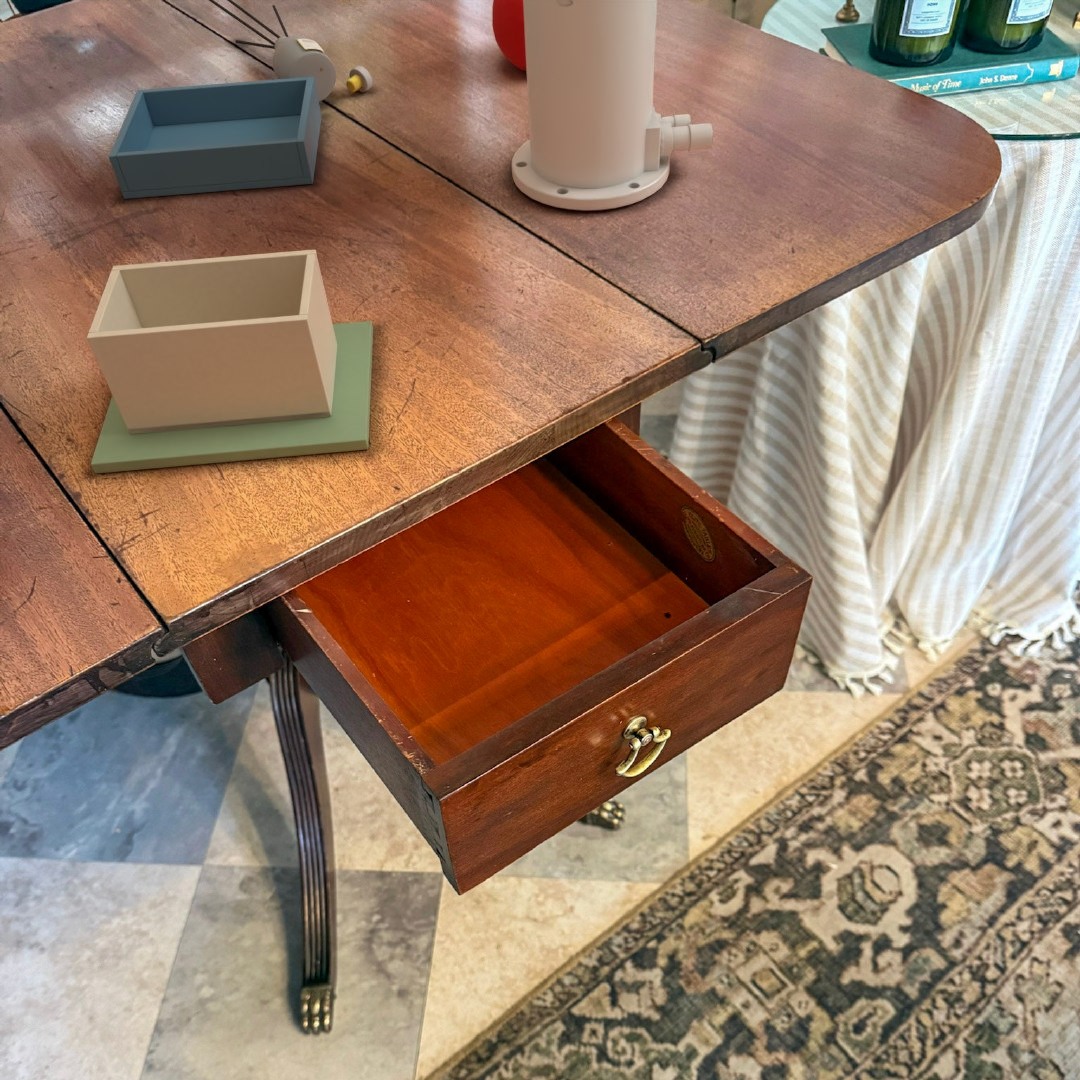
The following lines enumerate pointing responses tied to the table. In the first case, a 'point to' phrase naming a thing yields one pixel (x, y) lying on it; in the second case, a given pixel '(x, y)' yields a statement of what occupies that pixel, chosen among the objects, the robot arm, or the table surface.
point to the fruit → (510, 30)
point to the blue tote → (218, 138)
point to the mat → (256, 424)
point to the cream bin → (216, 341)
